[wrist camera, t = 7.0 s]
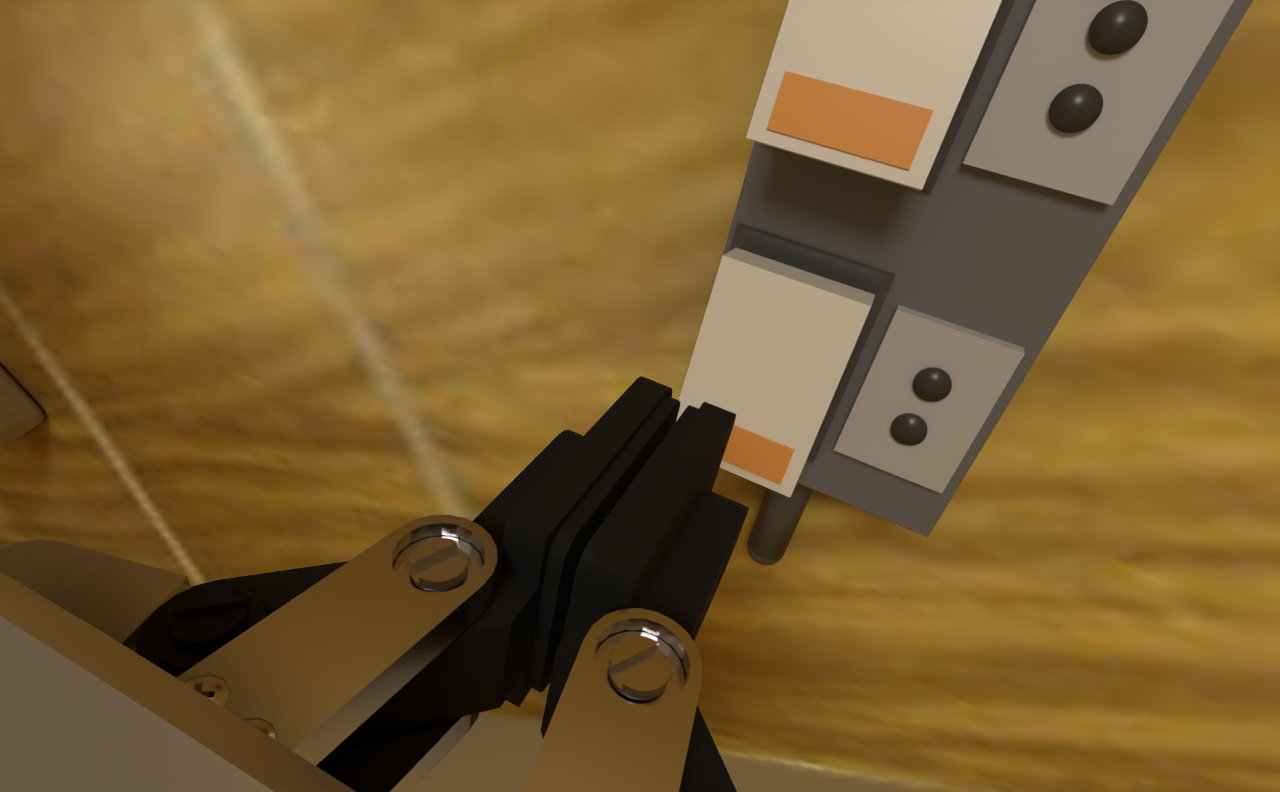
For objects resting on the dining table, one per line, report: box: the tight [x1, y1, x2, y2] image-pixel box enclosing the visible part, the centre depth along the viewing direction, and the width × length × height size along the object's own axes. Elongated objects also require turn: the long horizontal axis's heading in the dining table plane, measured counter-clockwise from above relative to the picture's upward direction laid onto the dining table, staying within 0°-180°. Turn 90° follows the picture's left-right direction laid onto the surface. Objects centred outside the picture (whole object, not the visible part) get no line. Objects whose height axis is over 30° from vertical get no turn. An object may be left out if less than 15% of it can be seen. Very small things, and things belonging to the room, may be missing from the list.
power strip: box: [724, 0, 1253, 565], centre depth 21 cm, size 25×9×5 cm, turn 168°
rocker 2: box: [676, 248, 875, 497], centre depth 19 cm, size 6×4×2 cm, turn 168°
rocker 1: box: [746, 0, 1002, 191], centre depth 14 cm, size 6×4×2 cm, turn 168°
